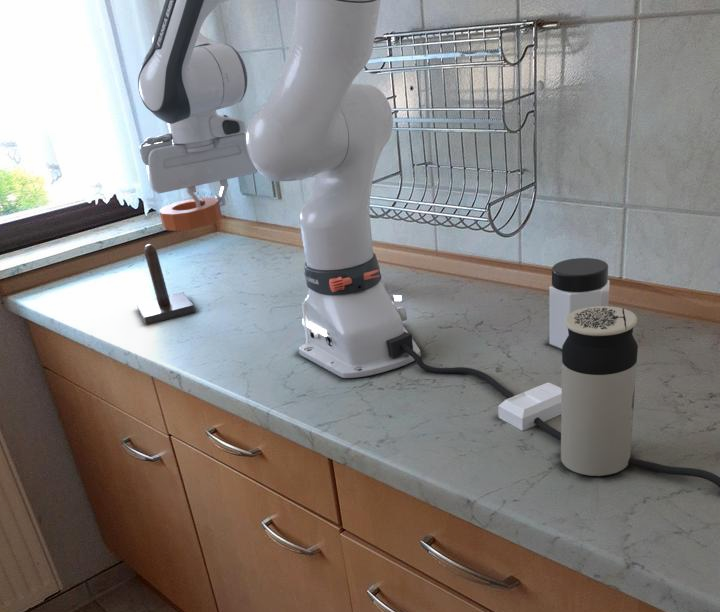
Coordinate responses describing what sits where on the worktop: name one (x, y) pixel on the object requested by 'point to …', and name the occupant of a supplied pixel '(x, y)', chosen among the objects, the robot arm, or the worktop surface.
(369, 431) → the worktop surface
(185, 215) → the ring
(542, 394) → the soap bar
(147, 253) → the peg stand
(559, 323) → the jar
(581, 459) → the travel mug
